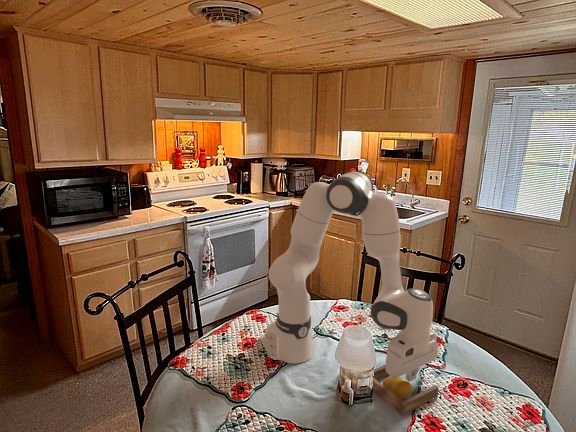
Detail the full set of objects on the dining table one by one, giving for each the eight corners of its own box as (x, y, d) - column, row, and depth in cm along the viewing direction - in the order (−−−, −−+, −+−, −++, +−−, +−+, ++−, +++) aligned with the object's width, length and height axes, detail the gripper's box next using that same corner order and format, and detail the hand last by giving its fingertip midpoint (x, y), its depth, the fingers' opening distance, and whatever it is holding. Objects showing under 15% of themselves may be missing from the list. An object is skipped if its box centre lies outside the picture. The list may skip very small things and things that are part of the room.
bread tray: (363, 383, 126) (364, 373, 125) (397, 368, 133) (397, 359, 132) (402, 415, 112) (403, 405, 111) (437, 396, 120) (438, 387, 119)
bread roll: (401, 404, 117) (402, 393, 116) (378, 388, 124) (379, 377, 123) (418, 394, 121) (419, 382, 120) (395, 378, 128) (396, 368, 127)
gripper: (428, 327, 129) (424, 363, 132) (383, 344, 119) (380, 384, 122) (445, 335, 124) (440, 374, 127) (399, 355, 113) (395, 396, 117)
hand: (410, 379), depth 125 cm, fingers closed
